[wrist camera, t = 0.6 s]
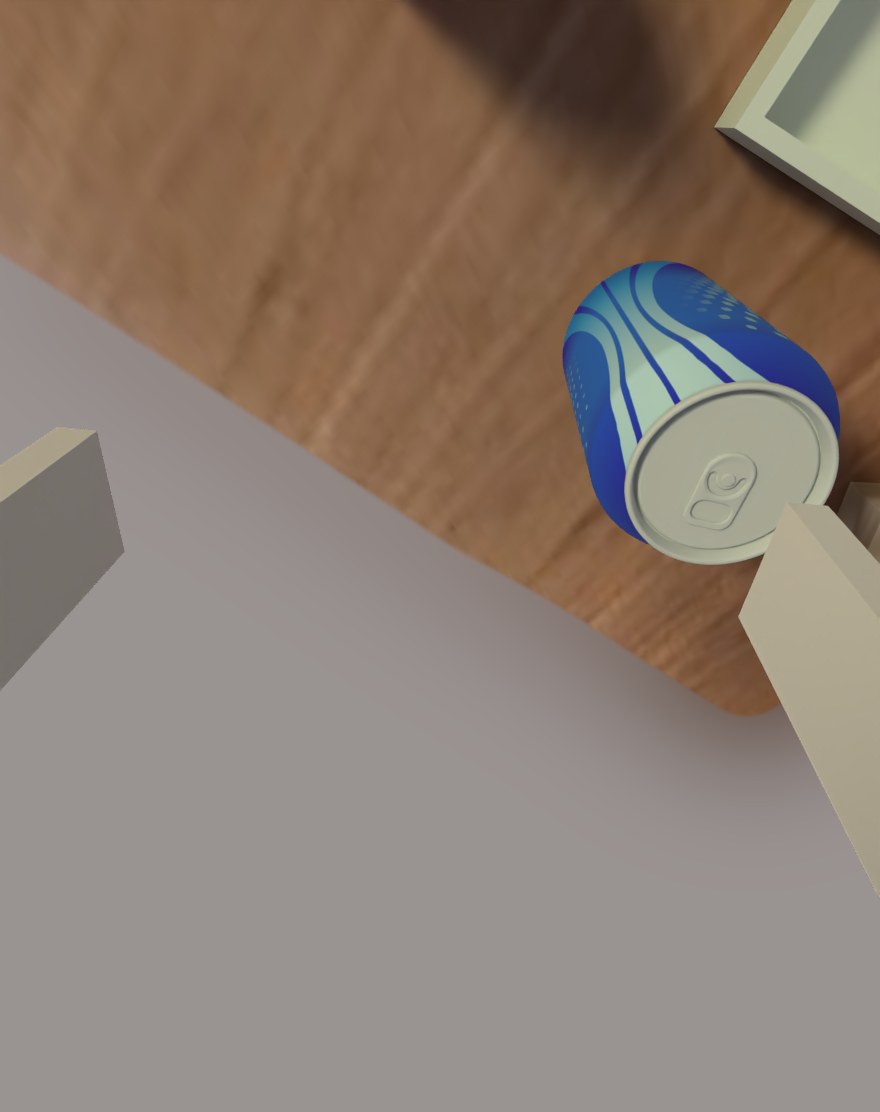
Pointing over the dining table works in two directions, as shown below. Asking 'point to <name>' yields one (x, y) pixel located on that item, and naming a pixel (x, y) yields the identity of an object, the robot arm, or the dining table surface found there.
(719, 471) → the beer can
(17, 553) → the robot arm
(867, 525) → the beech cube
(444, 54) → the dining table surface
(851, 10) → the tray
